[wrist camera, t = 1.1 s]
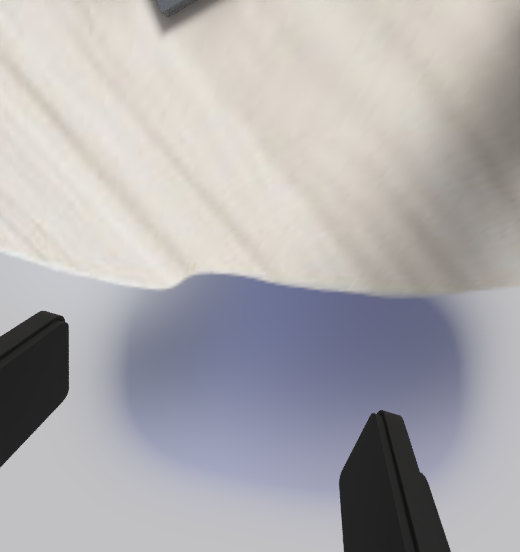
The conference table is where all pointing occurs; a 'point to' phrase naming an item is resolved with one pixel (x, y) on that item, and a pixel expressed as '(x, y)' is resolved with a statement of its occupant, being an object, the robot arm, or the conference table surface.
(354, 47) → the conference table surface
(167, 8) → the carrier
